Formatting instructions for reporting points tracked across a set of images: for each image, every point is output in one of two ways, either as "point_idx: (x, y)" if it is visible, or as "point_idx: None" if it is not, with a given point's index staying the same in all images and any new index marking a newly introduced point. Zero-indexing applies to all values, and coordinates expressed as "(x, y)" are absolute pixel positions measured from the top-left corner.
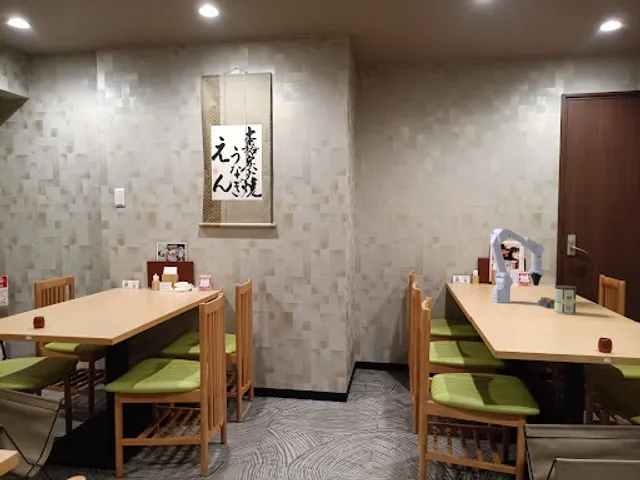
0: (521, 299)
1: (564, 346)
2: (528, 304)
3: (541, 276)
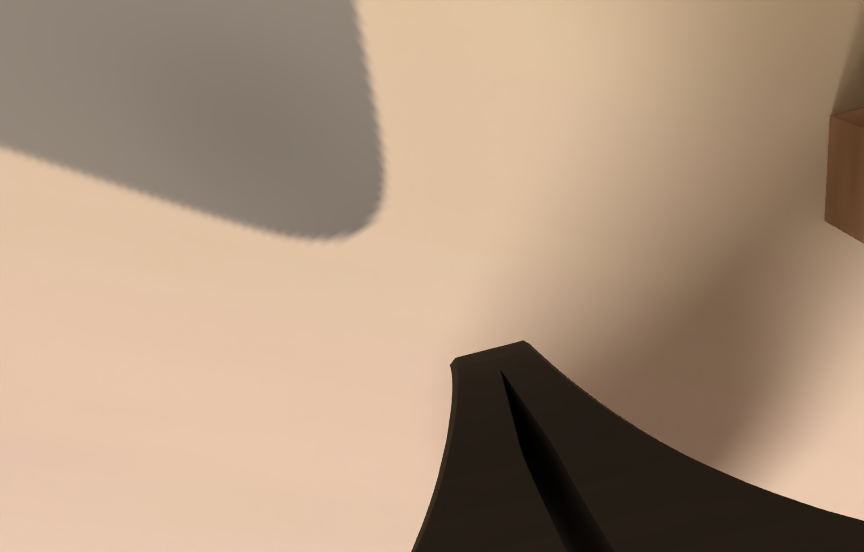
0: (278, 410)
1: None
2: (781, 389)
3: (858, 533)
